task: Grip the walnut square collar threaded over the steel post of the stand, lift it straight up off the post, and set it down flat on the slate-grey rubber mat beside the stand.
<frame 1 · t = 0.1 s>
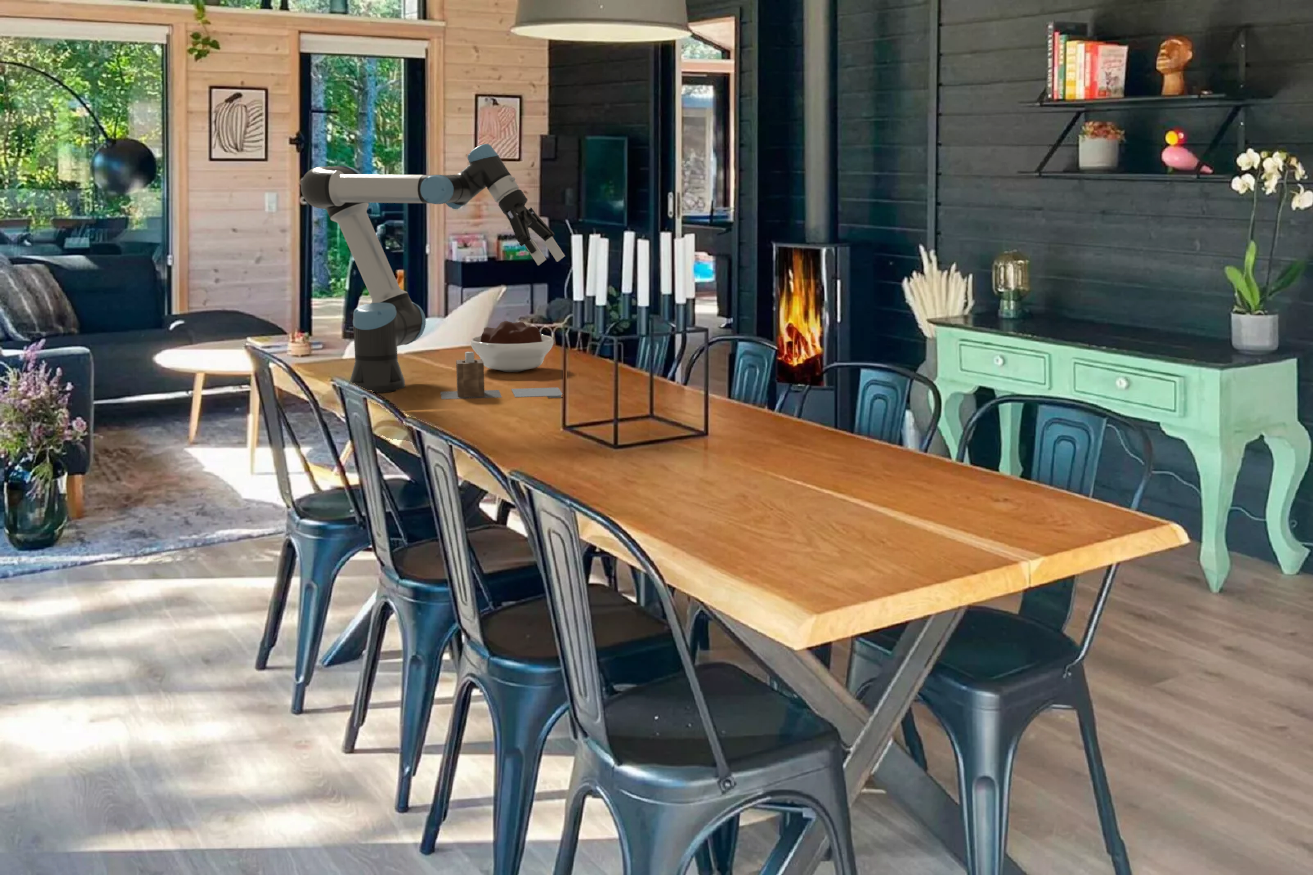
hand: (551, 260, 385), 36 cm above the table, fingers open, 13 cm apart
post stand: (470, 396, 383), on the table
slate mat: (537, 394, 386), on the table
walnut collar: (470, 394, 382), resting on post stand
white ceramic bowl: (512, 370, 429), on the table
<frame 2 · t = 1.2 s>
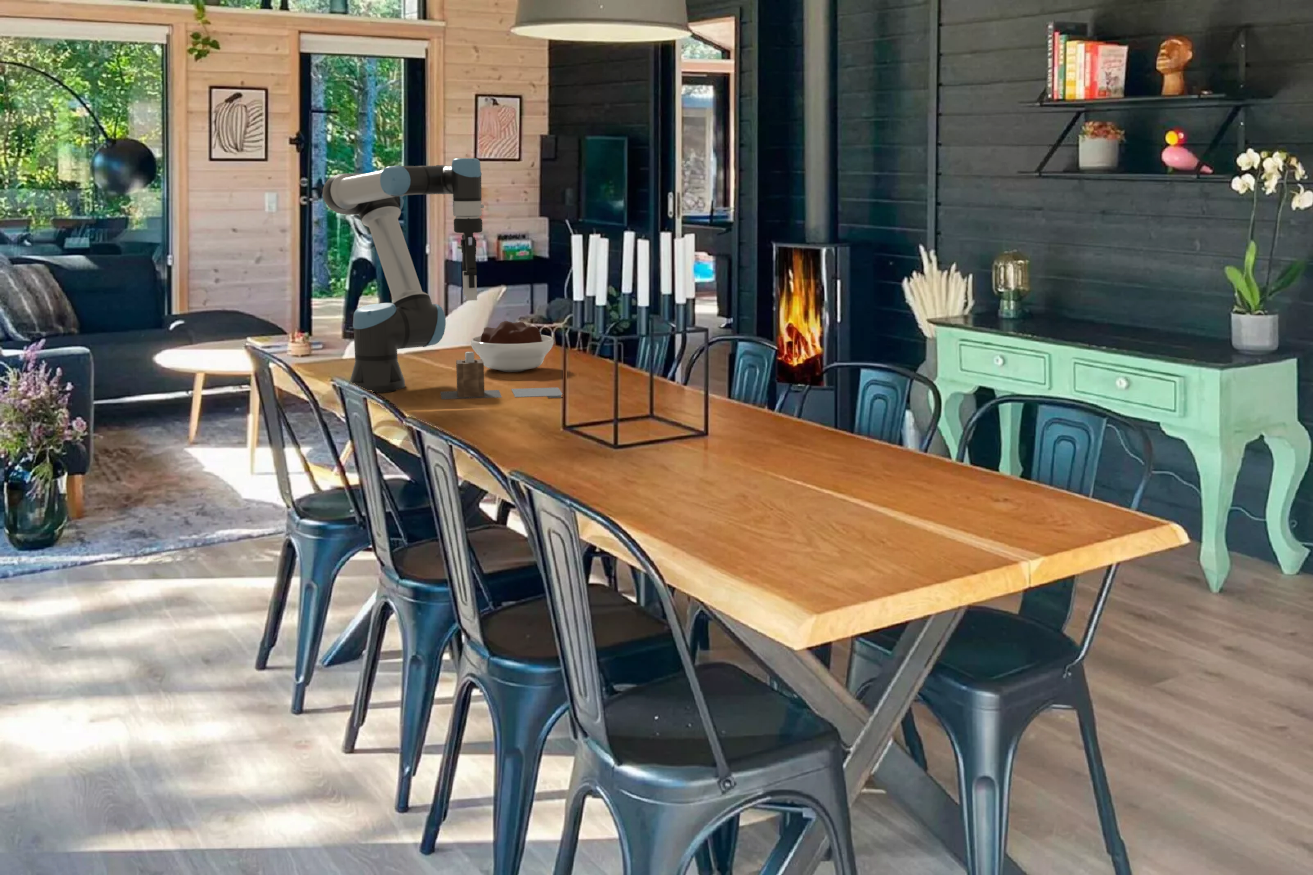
hand: (470, 297, 378), 27 cm above the table, fingers open, 13 cm apart
nothing on the table moved.
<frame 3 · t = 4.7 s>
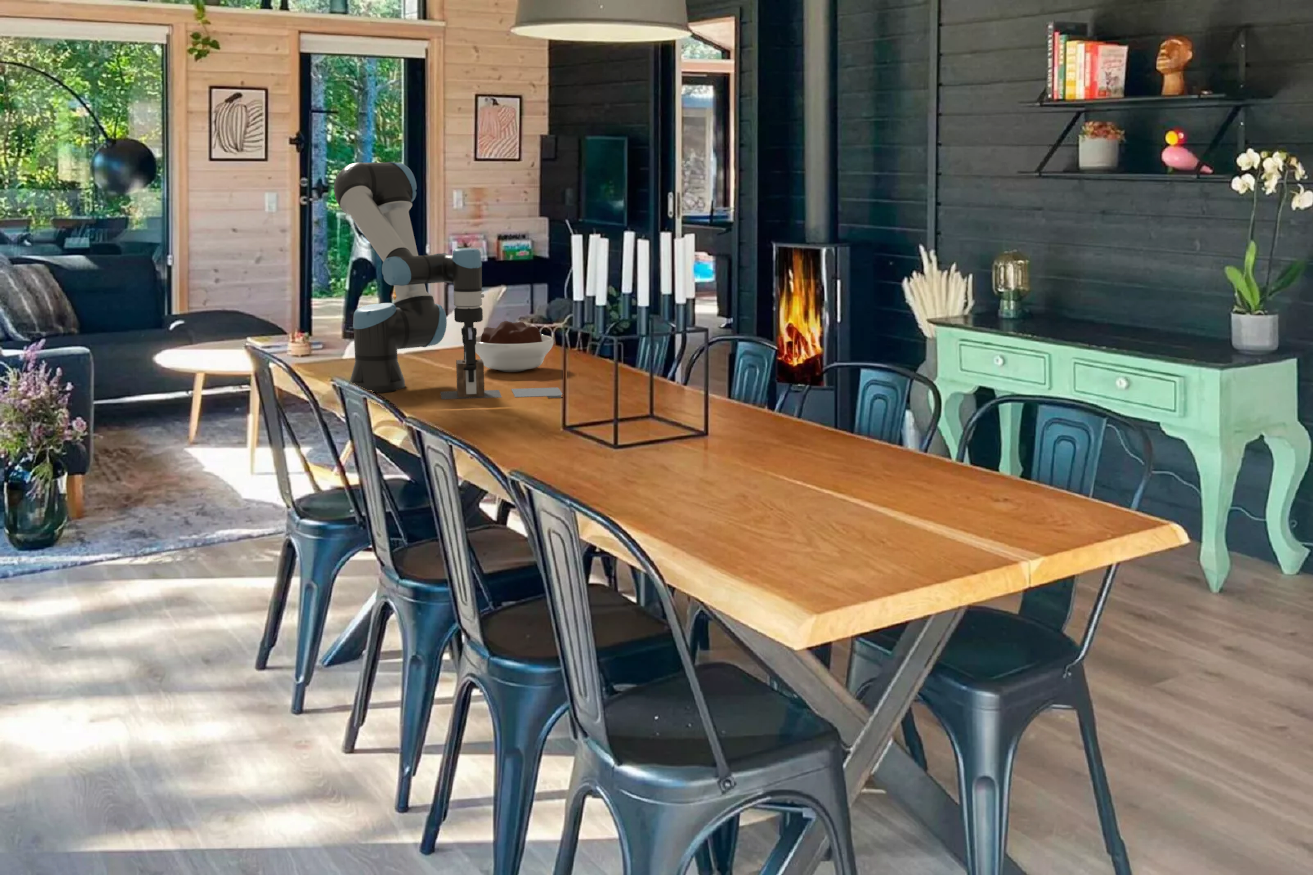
hand: (470, 391, 382), 1 cm above the table, fingers closed on walnut collar, 7 cm apart
walnut collar: (470, 394, 382), point 1 cm above the table, touching gripper, post stand
everything else where it was.
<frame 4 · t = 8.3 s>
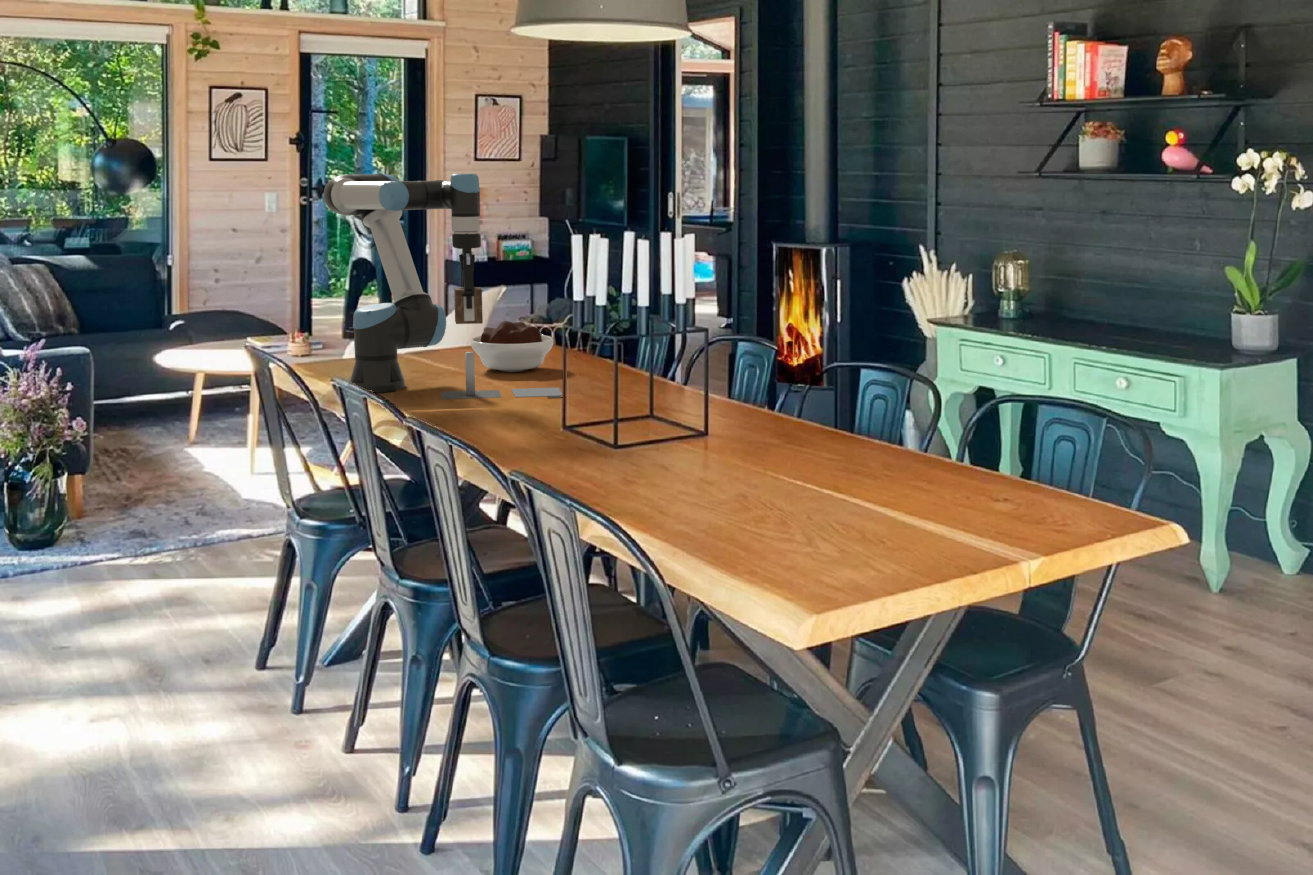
hand: (468, 318, 378), 21 cm above the table, fingers closed on walnut collar, 7 cm apart
walnut collar: (468, 322, 378), point 20 cm above the table, touching gripper
everything else where it was.
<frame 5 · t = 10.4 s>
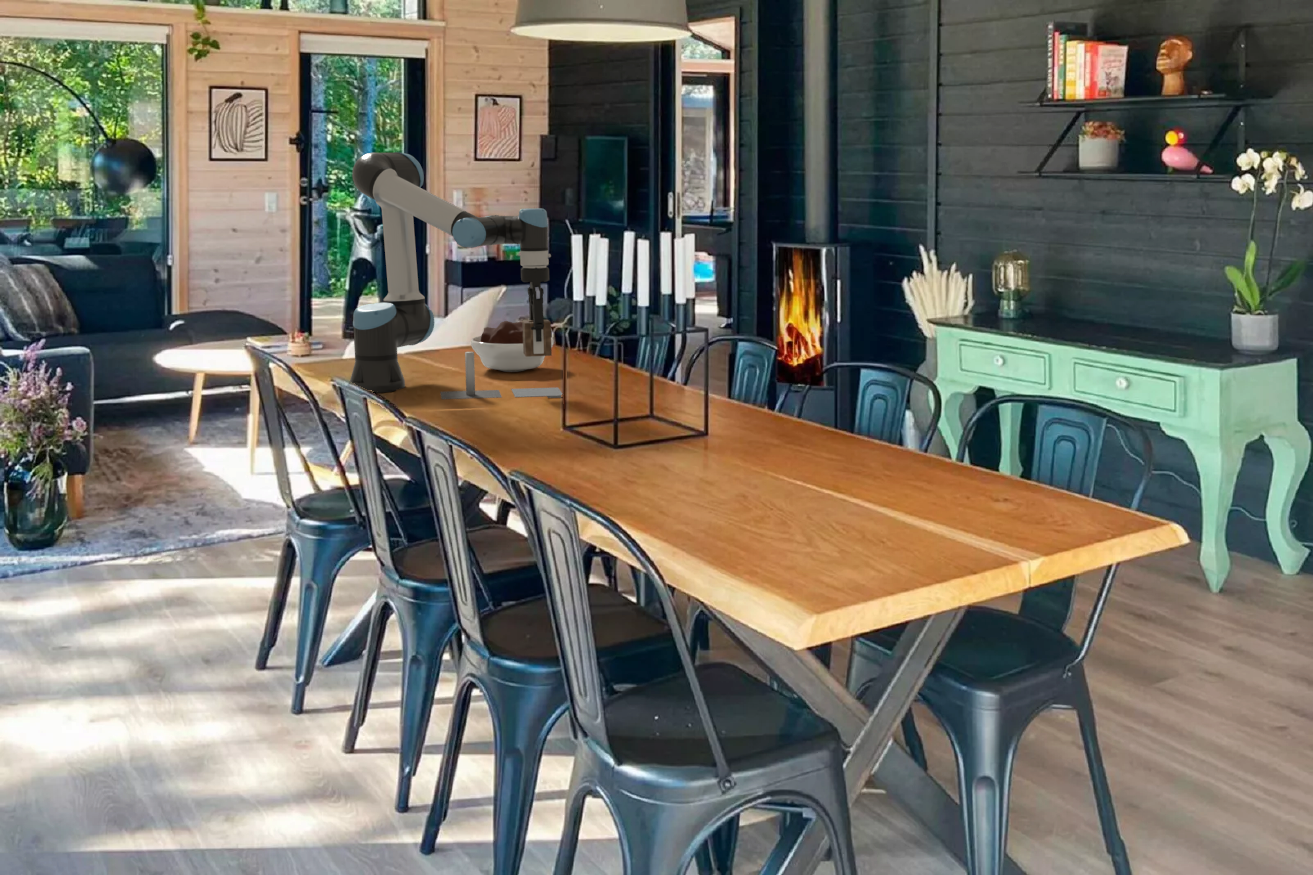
hand: (537, 351, 383), 12 cm above the table, fingers closed on walnut collar, 7 cm apart
walnut collar: (537, 354, 383), point 11 cm above the table, touching gripper
everything else where it was.
when the fingers open (3 cm above the table, at t = 12.2 s): walnut collar drops 2 cm, resting on slate mat.
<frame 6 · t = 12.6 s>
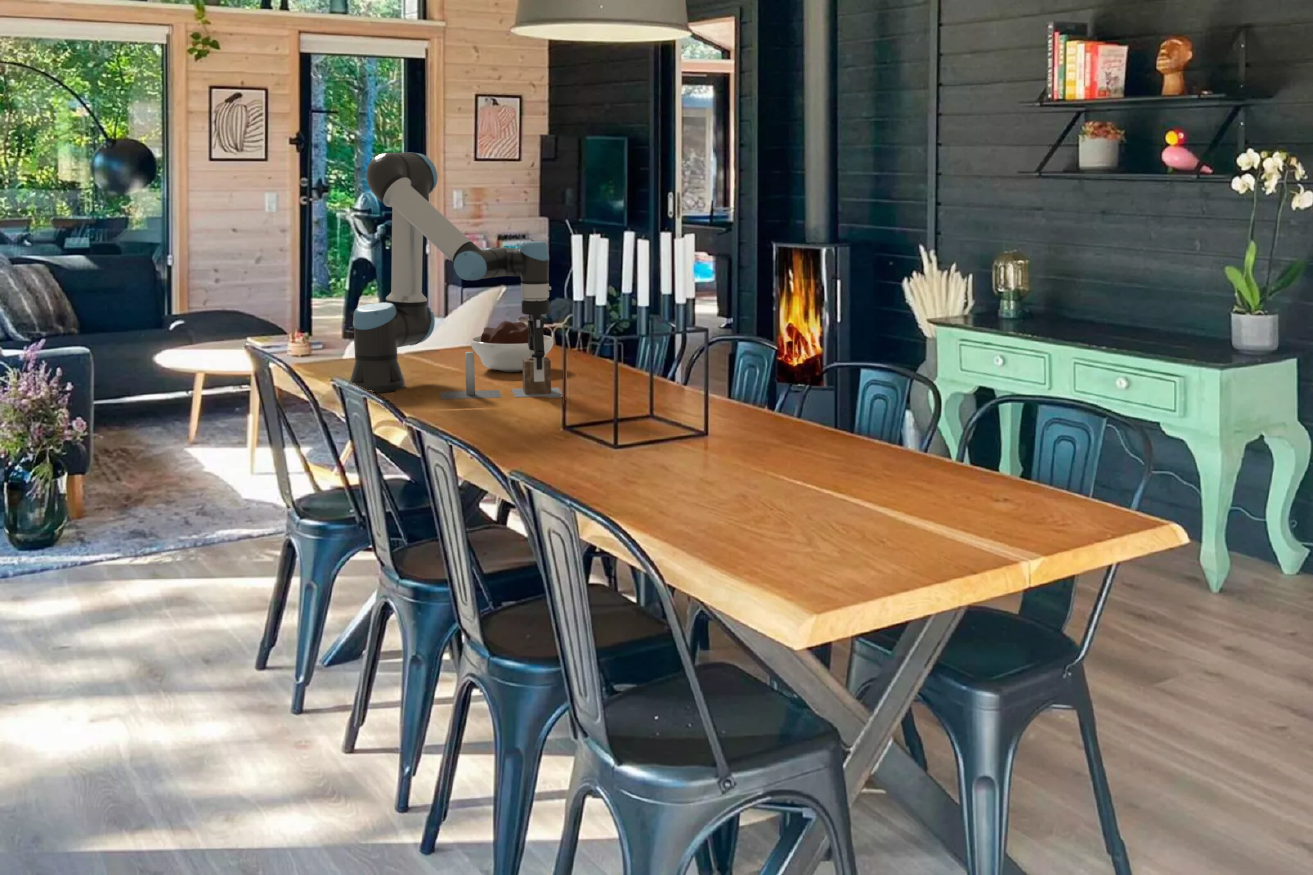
hand: (536, 377, 385), 5 cm above the table, fingers open, 13 cm apart
walnut collar: (537, 392, 386), point 1 cm above the table, touching slate mat
everything else where it was.
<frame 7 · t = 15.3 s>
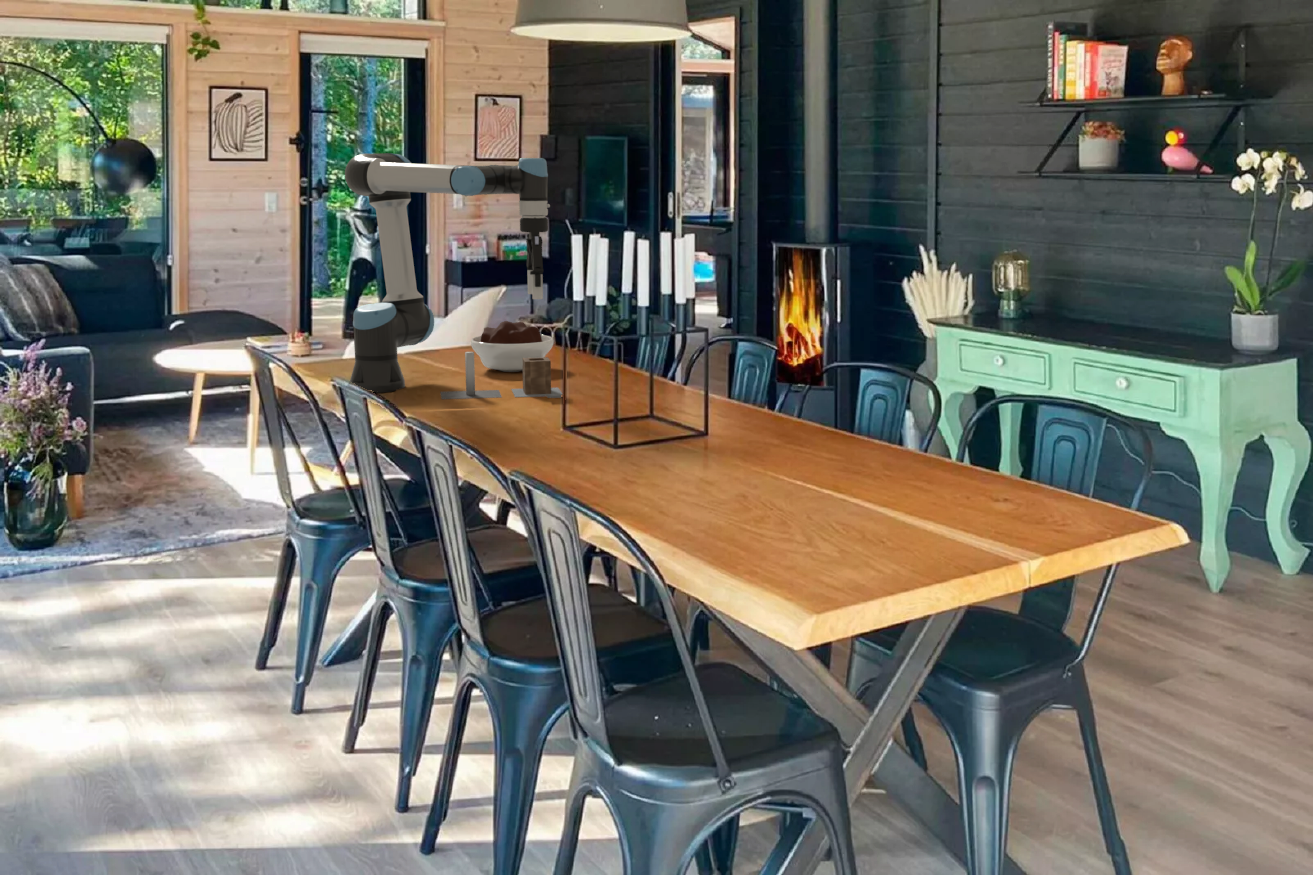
hand: (535, 296, 380), 27 cm above the table, fingers open, 13 cm apart
nothing on the table moved.
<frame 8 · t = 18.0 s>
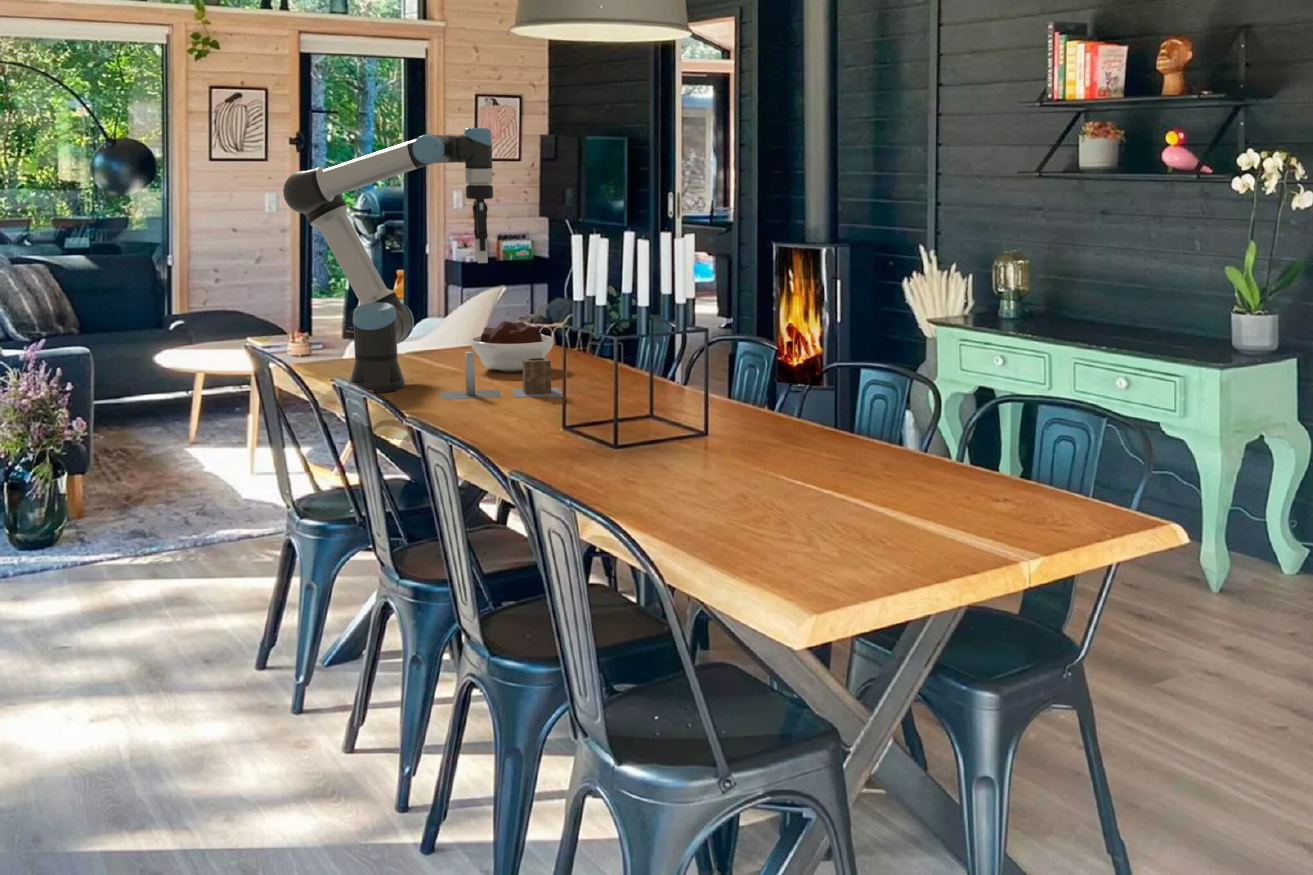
hand: (481, 261, 398), 35 cm above the table, fingers open, 13 cm apart
nothing on the table moved.
at the end: walnut collar inside the target area on the slate mat (0.0 cm from its centre), point 0.6 cm above the slate mat's base; walnut collar tilted 0°; the gripper is holding nothing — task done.
